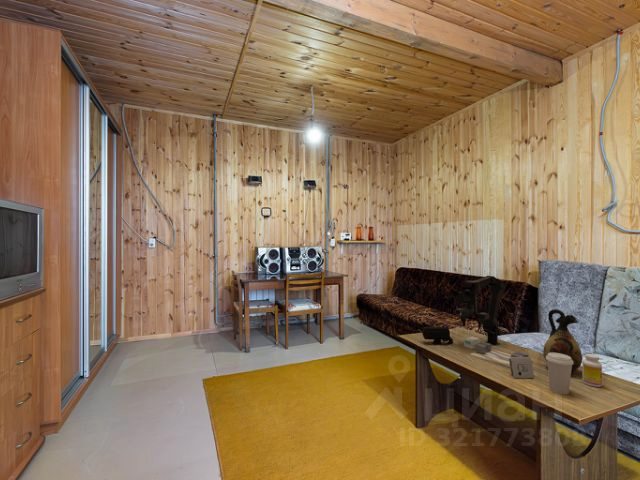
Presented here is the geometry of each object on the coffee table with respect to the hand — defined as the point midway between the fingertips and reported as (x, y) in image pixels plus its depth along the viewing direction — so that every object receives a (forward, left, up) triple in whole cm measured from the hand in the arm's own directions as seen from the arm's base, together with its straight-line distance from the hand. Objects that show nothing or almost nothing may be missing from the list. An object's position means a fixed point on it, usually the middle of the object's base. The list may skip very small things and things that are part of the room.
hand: (471, 327), depth 187 cm
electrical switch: (+20, +35, -12) cm, 42 cm away
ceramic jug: (-5, +43, -12) cm, 45 cm away
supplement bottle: (+2, +57, -12) cm, 58 cm away
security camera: (+10, -16, -12) cm, 23 cm away
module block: (-2, -1, -12) cm, 13 cm away
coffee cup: (+22, +51, -12) cm, 57 cm away
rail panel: (+5, +19, -12) cm, 23 cm away
